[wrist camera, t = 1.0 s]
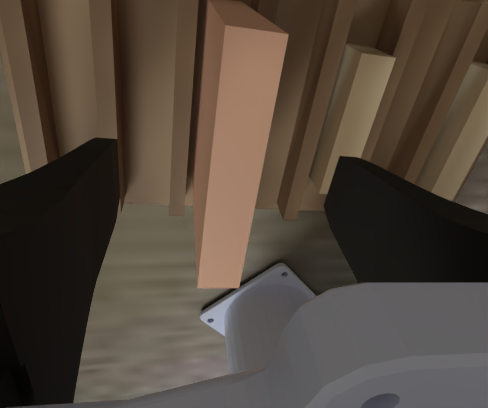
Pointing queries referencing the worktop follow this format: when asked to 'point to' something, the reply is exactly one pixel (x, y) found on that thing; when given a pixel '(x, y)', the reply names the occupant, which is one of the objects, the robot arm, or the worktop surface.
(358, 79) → the offcut
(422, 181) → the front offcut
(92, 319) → the worktop surface
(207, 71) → the salmon rectangular slab
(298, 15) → the rack
